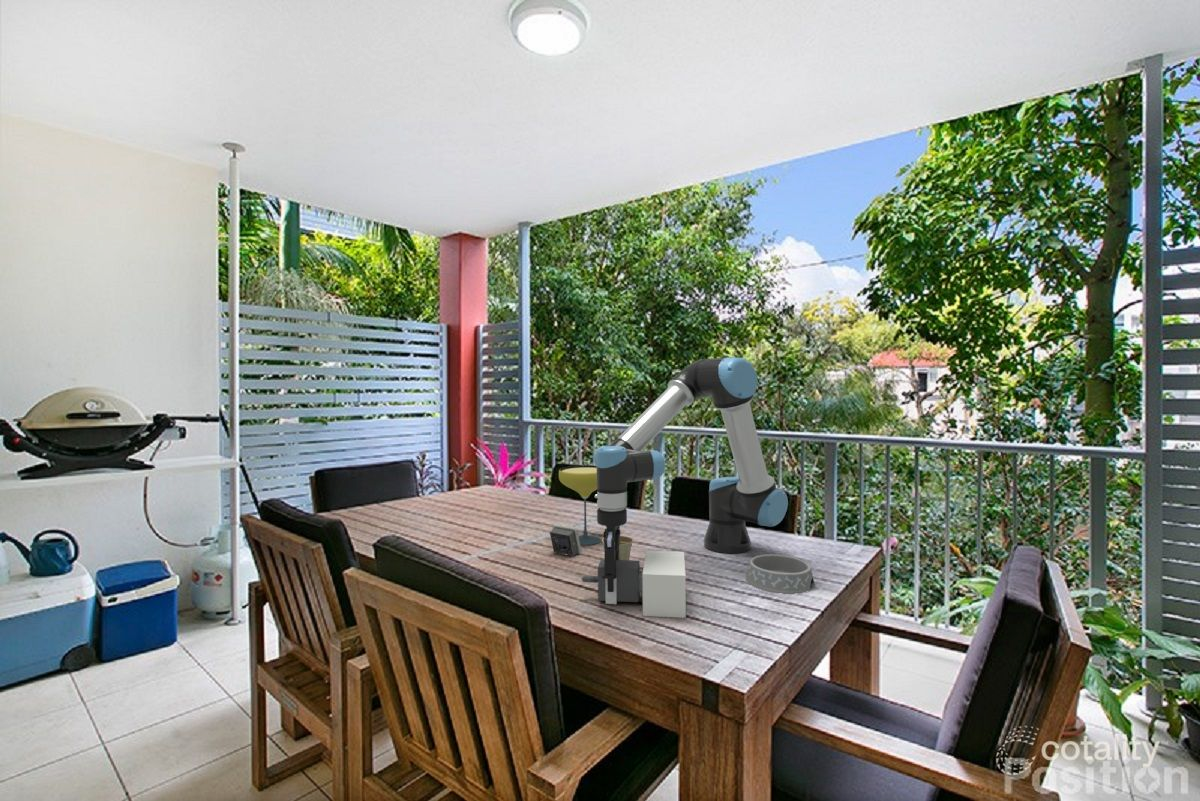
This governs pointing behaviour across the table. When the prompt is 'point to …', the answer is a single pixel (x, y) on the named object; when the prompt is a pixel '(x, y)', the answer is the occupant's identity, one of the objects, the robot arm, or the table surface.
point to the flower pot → (624, 547)
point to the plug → (620, 580)
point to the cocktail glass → (581, 490)
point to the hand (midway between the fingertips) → (612, 597)
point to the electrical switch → (565, 540)
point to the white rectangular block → (664, 584)
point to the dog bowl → (779, 574)
